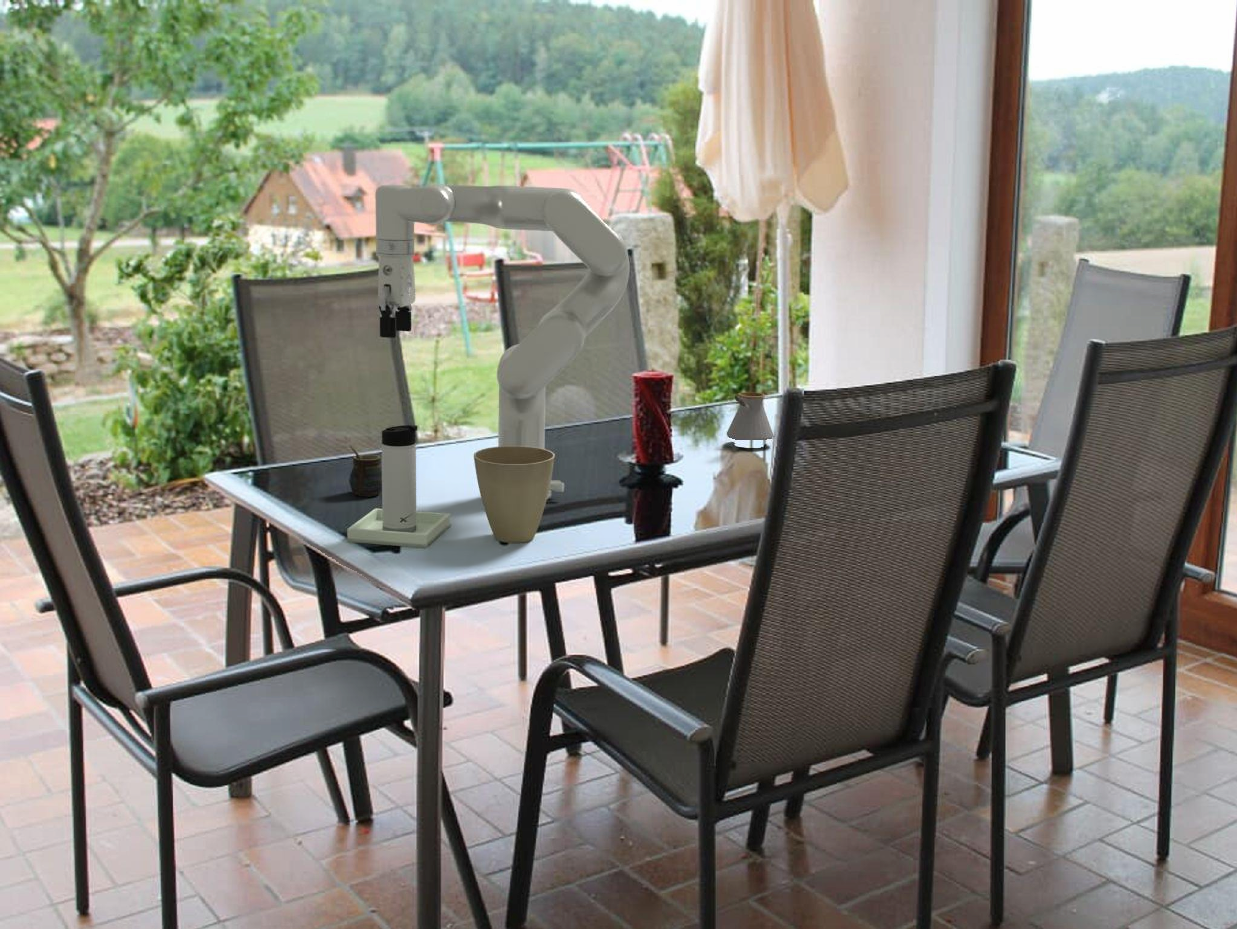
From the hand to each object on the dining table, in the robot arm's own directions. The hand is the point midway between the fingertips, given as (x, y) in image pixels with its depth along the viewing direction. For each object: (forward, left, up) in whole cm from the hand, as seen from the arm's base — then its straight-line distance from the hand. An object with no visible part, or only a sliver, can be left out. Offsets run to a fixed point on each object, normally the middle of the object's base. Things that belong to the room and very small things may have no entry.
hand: (395, 334), depth 281 cm
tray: (-10, +28, -33) cm, 45 cm away
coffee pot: (-66, -64, -34) cm, 98 cm away
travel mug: (-10, +28, -33) cm, 44 cm away
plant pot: (-31, +25, -34) cm, 52 cm away
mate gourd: (+6, +2, -34) cm, 34 cm away
